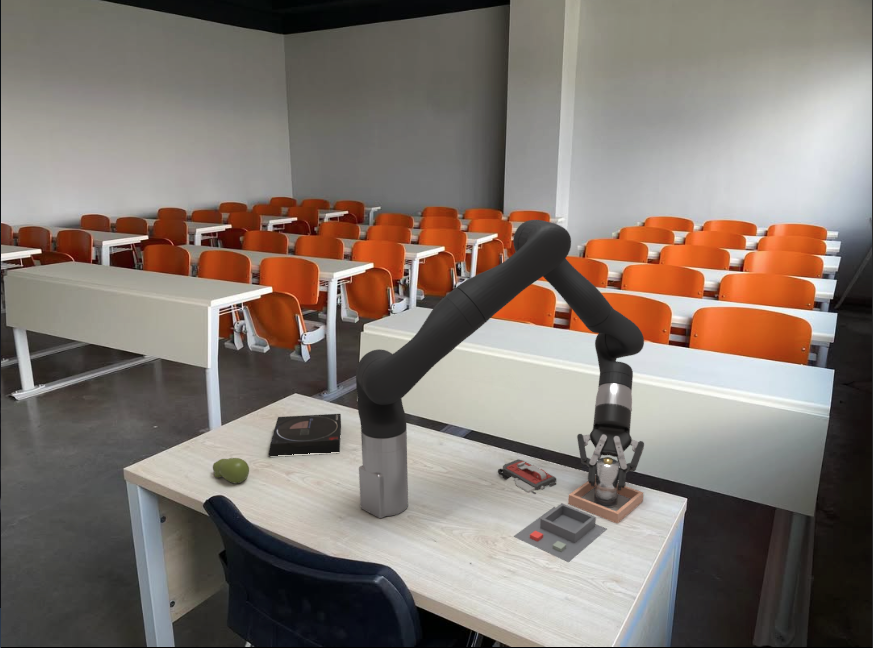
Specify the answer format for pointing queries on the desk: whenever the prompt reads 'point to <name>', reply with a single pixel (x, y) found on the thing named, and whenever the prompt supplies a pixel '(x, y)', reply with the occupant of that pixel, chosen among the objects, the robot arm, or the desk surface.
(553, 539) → the checker plate
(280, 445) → the portable cd player
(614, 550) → the desk surface
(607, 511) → the pot
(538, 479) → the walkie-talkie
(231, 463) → the pear
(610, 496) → the cell
